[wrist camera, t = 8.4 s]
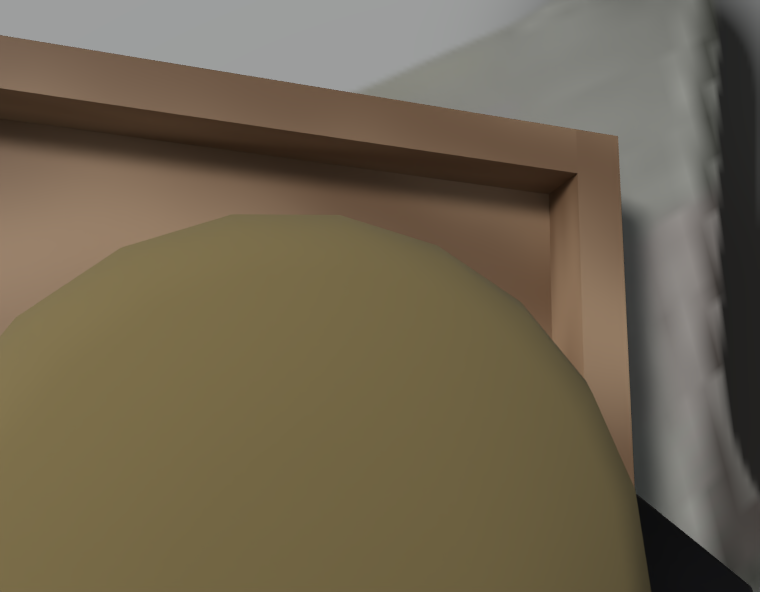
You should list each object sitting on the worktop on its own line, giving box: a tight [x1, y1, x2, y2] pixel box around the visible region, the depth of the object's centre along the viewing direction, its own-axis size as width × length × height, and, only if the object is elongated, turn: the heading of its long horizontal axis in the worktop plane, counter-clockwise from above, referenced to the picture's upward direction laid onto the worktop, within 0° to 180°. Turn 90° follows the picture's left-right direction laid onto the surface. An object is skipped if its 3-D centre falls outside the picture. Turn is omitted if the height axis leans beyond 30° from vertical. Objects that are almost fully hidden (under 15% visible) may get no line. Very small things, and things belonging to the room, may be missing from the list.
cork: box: [0, 214, 651, 592], centre depth 9 cm, size 6×6×11 cm
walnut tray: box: [0, 35, 635, 488], centre depth 15 cm, size 18×18×2 cm
